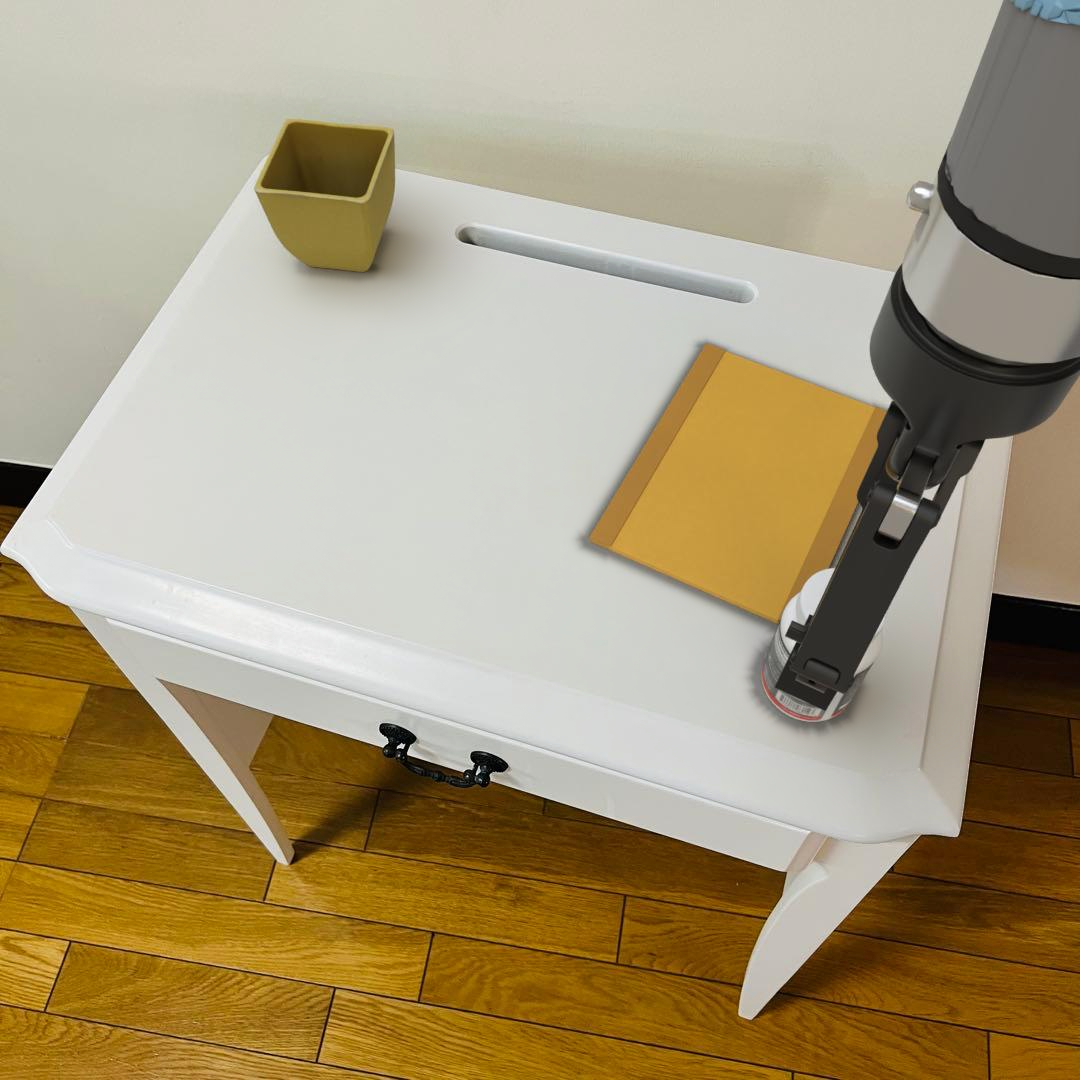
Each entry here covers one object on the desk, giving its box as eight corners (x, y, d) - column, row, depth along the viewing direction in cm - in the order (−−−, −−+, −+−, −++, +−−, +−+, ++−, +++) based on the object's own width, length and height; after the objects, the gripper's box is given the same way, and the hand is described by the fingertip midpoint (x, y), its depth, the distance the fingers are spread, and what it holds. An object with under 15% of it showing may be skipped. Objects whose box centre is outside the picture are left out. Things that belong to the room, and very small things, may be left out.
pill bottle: (826, 630, 67) (867, 547, 58) (868, 709, 64) (918, 633, 55) (744, 656, 66) (774, 575, 57) (783, 736, 63) (821, 663, 54)
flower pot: (276, 281, 84) (250, 188, 76) (306, 209, 88) (285, 115, 81) (383, 293, 83) (368, 201, 76) (408, 220, 88) (396, 127, 80)
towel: (894, 419, 76) (897, 414, 76) (799, 634, 67) (801, 629, 66) (705, 348, 80) (706, 342, 80) (589, 541, 70) (589, 536, 70)
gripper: (988, 81, 44) (855, 403, 62) (778, 506, 33) (688, 754, 50) (1169, 135, 43) (979, 451, 61) (1018, 607, 31) (836, 827, 49)
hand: (846, 589), depth 56 cm, fingers open, 13 cm apart
